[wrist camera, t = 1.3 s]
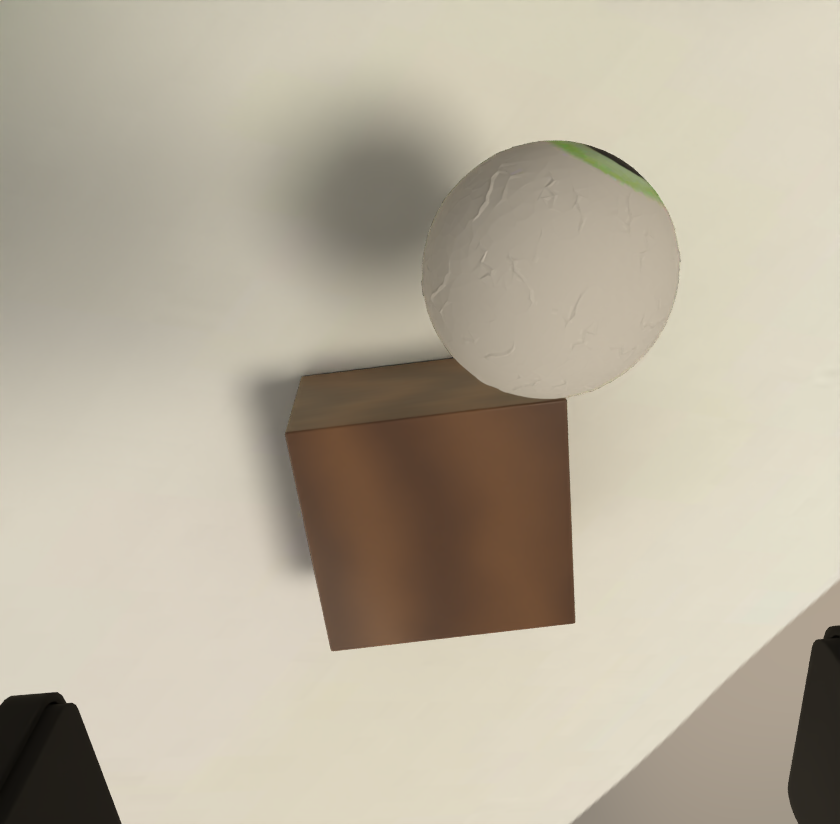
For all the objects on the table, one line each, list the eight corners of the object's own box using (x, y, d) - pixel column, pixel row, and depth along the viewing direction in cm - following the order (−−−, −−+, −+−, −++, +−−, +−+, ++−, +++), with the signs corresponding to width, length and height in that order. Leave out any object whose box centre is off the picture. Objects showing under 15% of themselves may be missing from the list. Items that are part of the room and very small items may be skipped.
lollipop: (612, 166, 31) (783, 242, 18) (527, 314, 34) (619, 482, 20) (460, 83, 30) (518, 96, 16) (383, 245, 32) (377, 376, 19)
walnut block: (539, 347, 34) (567, 398, 29) (549, 546, 39) (575, 624, 34) (300, 376, 35) (284, 433, 29) (339, 571, 39) (330, 652, 34)
